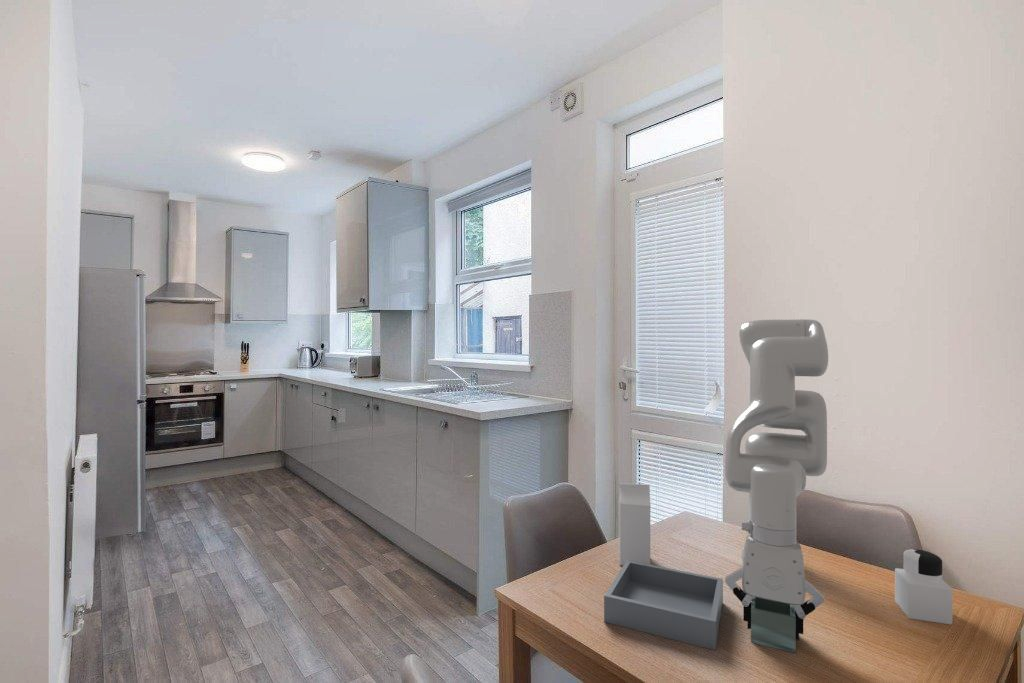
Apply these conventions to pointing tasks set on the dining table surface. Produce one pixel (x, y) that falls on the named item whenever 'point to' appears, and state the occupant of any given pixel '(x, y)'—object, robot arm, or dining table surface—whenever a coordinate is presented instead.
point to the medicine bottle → (923, 588)
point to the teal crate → (773, 624)
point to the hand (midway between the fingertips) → (772, 630)
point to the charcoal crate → (666, 603)
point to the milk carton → (634, 523)
